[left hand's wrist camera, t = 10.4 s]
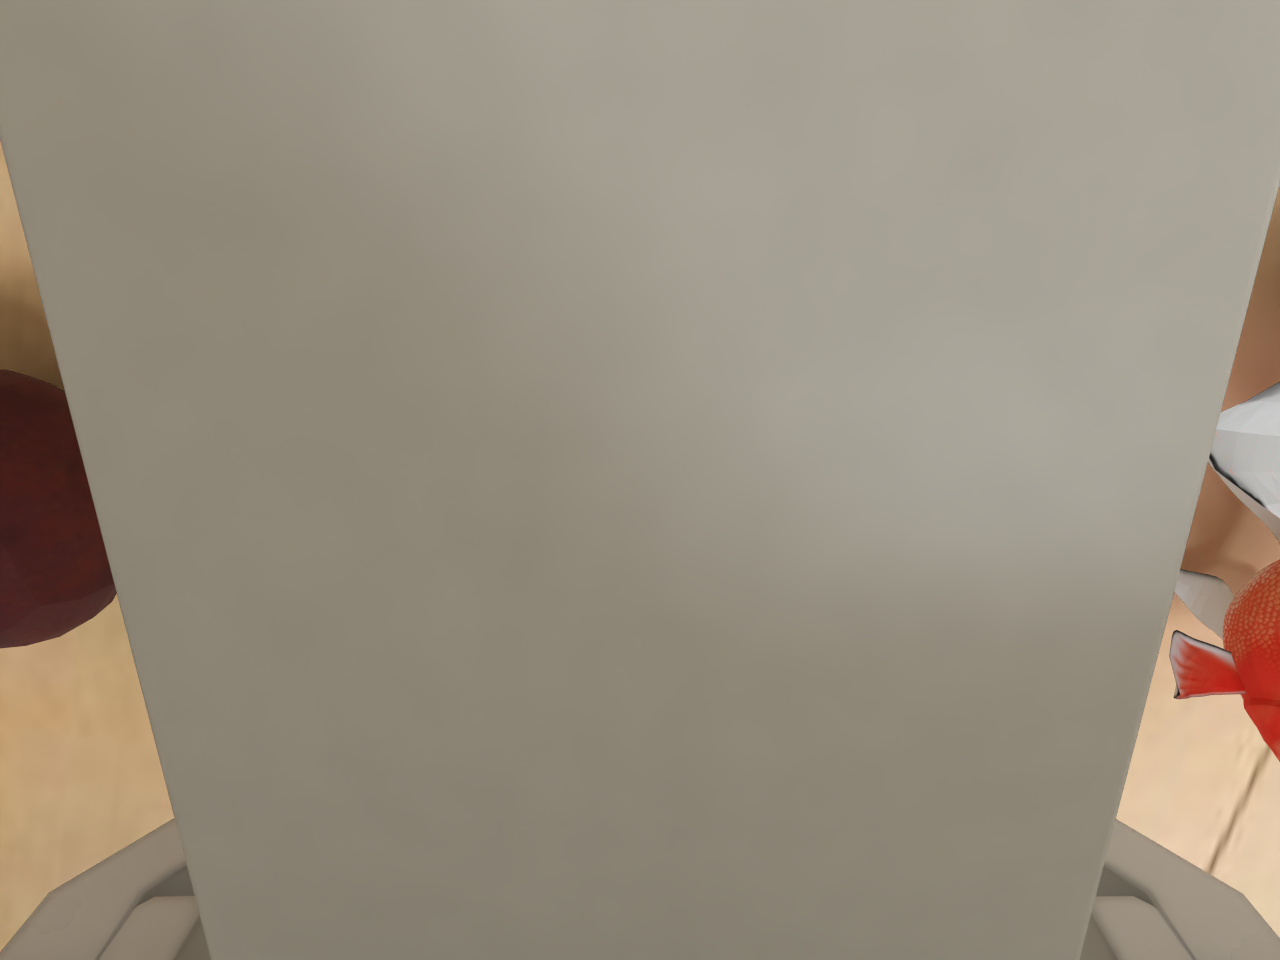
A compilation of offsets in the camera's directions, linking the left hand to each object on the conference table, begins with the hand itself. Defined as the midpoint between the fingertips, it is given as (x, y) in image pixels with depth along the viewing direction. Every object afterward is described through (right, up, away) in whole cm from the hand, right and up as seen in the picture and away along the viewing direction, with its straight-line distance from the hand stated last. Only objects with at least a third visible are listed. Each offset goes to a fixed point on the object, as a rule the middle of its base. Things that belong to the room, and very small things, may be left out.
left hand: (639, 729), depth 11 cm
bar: (0, +8, +1) cm, 8 cm away
